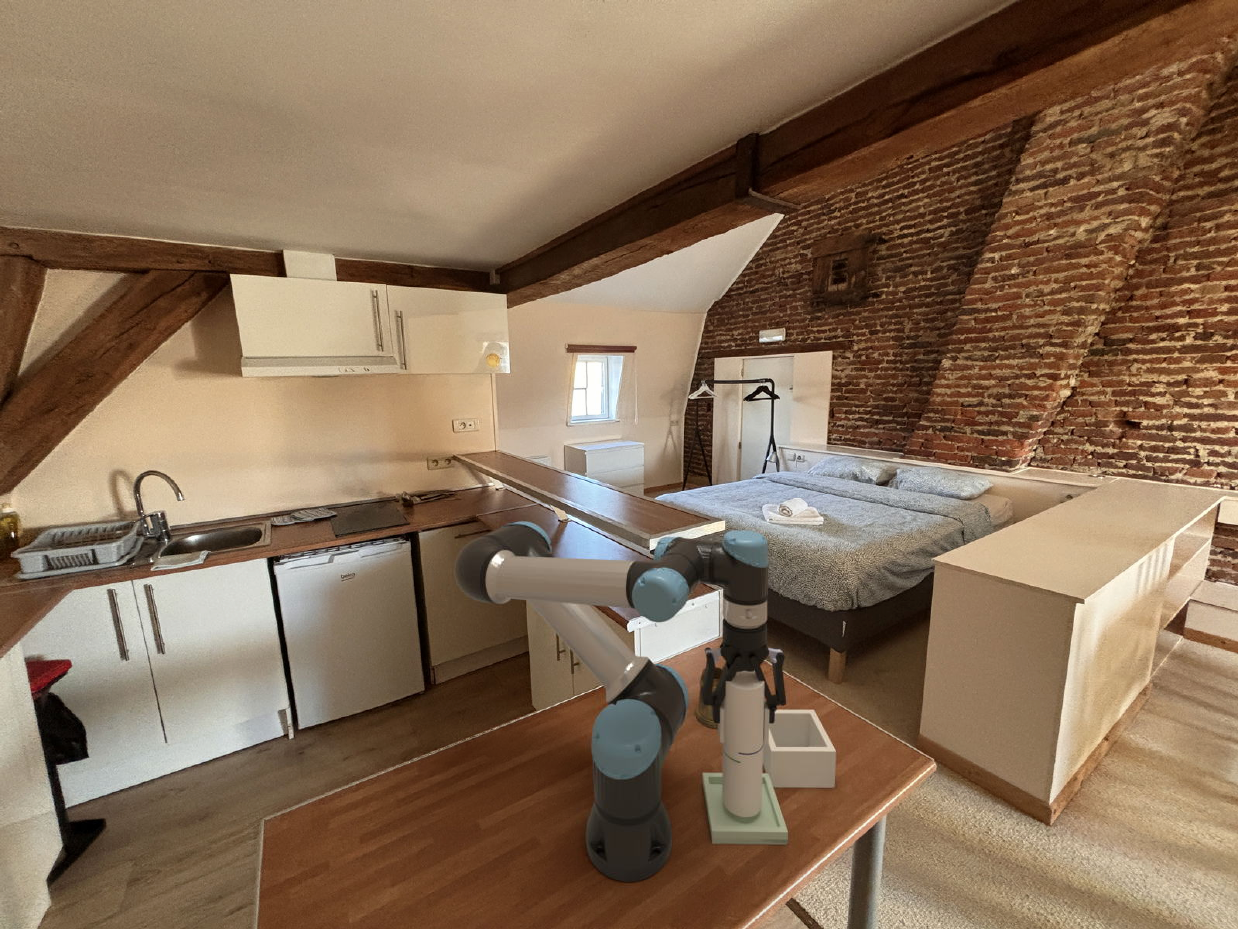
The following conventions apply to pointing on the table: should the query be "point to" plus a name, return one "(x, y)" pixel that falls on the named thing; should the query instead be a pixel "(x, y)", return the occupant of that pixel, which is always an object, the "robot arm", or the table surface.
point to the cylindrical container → (743, 744)
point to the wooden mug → (706, 711)
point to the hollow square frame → (799, 751)
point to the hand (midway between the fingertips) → (742, 737)
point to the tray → (744, 829)
